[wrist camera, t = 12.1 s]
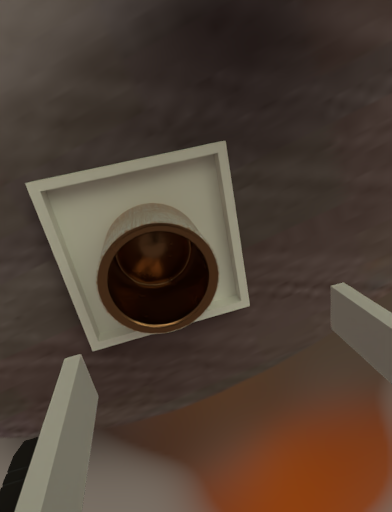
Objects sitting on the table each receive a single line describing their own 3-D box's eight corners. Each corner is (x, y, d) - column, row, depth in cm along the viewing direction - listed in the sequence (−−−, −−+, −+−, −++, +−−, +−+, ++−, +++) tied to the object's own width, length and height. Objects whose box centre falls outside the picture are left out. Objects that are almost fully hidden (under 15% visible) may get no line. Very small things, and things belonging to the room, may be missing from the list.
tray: (33, 181, 30) (25, 183, 28) (219, 141, 32) (225, 140, 30) (94, 339, 37) (92, 351, 35) (243, 297, 40) (249, 305, 37)
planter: (97, 205, 31) (83, 226, 23) (196, 197, 33) (219, 214, 24) (112, 296, 35) (105, 344, 26) (200, 284, 37) (221, 326, 28)
